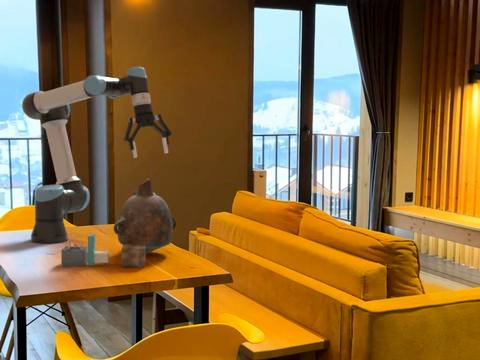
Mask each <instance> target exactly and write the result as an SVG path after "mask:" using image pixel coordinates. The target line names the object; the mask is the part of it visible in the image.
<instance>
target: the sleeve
mask: <svg viewBox="0 0 480 360" xmlns="http://www.w3.org/2000/svg"><path fill="white" fill-rule="evenodd" d="M86 251H88V246H64V247H63V248H62V249H61V254H60V255H61V268H85V267H86V266H87V265H88V263H85V252H86Z"/></svg>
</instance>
